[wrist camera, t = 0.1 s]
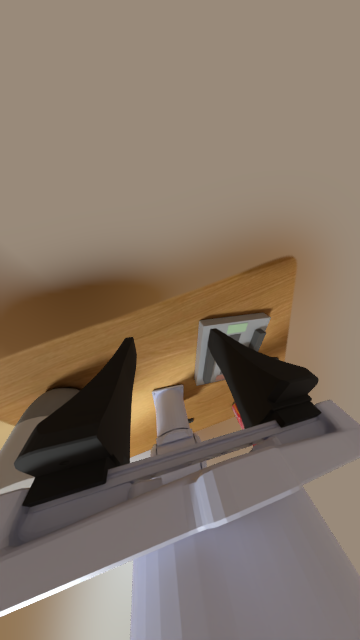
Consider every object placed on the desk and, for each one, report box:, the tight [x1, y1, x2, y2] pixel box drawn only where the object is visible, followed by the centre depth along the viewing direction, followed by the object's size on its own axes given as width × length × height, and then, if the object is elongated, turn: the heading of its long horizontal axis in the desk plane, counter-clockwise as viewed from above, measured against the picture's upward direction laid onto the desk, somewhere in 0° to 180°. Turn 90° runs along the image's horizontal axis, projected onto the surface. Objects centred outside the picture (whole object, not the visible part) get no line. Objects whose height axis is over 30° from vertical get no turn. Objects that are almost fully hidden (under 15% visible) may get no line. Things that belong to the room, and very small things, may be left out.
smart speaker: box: [0, 388, 80, 494], centre depth 21 cm, size 10×9×14 cm
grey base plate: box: [194, 313, 271, 386], centre depth 29 cm, size 18×14×2 cm
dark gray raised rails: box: [202, 329, 266, 384], centre depth 28 cm, size 13×11×1 cm
